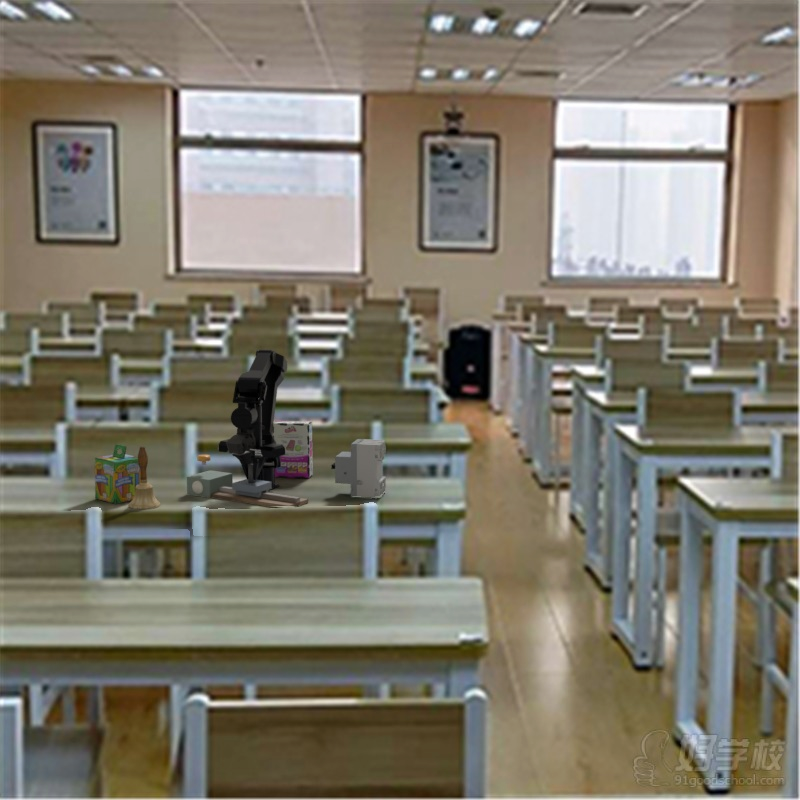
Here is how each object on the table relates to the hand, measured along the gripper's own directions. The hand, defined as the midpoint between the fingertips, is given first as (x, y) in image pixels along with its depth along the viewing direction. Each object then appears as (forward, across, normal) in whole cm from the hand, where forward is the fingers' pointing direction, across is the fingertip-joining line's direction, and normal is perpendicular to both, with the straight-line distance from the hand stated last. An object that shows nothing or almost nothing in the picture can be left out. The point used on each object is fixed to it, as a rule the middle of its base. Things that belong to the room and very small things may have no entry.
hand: (251, 479), depth 318 cm
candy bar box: (+6, -7, +30) cm, 31 cm away
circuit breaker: (+6, +22, +20) cm, 30 cm away
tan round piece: (-2, -17, 0) cm, 17 cm away
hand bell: (+6, -20, -21) cm, 29 cm away
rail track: (+6, +2, 0) cm, 6 cm away
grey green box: (+6, -15, 0) cm, 16 cm away
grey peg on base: (+4, 0, 0) cm, 4 cm away
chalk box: (+6, -31, -18) cm, 36 cm away
